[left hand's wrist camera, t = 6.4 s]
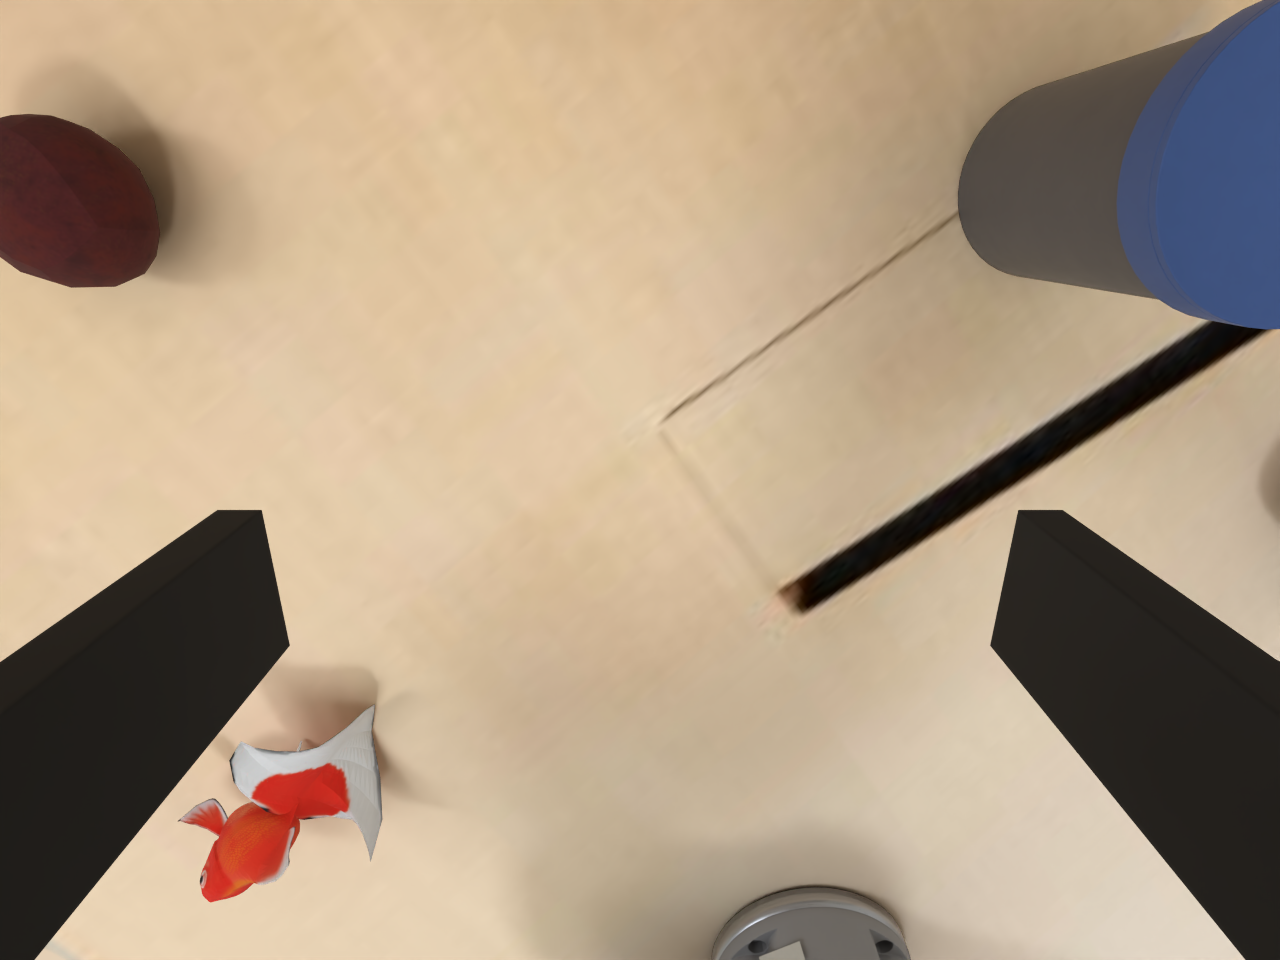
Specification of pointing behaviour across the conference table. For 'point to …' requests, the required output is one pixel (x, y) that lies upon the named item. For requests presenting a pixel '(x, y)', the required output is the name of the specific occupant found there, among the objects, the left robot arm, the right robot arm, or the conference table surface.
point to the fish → (288, 805)
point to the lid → (1211, 177)
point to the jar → (1061, 175)
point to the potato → (72, 205)
